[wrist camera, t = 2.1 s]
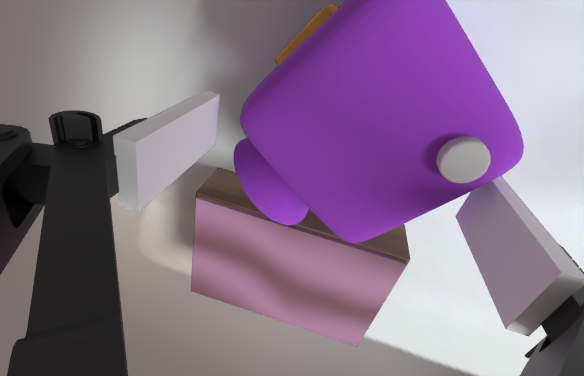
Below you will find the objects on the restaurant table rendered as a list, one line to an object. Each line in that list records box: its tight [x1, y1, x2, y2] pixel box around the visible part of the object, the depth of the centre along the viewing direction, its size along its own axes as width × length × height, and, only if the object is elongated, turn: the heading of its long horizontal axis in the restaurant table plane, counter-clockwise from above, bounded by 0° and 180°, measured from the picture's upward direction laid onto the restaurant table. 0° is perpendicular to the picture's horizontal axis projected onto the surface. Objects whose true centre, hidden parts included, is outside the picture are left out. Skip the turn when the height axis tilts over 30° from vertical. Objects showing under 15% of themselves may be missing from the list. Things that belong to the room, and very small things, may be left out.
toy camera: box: [234, 0, 524, 243], centre depth 17 cm, size 11×14×10 cm
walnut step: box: [191, 168, 410, 346], centre depth 27 cm, size 11×16×4 cm
